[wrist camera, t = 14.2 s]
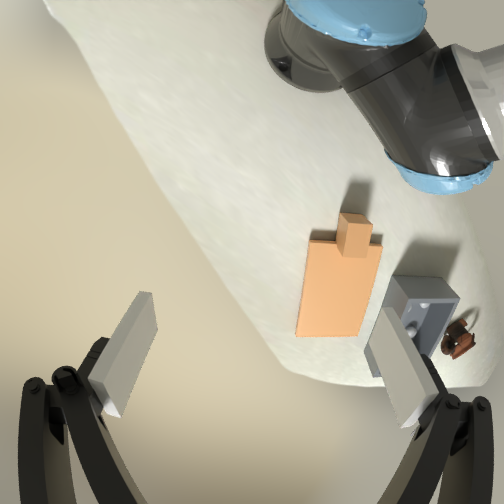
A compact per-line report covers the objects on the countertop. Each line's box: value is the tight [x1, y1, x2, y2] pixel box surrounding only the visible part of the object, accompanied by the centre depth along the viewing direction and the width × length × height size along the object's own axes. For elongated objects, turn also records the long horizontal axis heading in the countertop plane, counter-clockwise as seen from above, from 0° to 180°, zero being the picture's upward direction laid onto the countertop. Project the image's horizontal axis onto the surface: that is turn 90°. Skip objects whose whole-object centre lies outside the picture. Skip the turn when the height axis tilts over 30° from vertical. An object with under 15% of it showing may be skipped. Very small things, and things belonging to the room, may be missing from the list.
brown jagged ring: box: [441, 319, 476, 360], centre depth 53 cm, size 12×10×8 cm
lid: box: [295, 213, 383, 337], centre depth 47 cm, size 25×13×6 cm, turn 178°
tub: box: [364, 275, 460, 377], centre depth 49 cm, size 20×13×8 cm, turn 176°
